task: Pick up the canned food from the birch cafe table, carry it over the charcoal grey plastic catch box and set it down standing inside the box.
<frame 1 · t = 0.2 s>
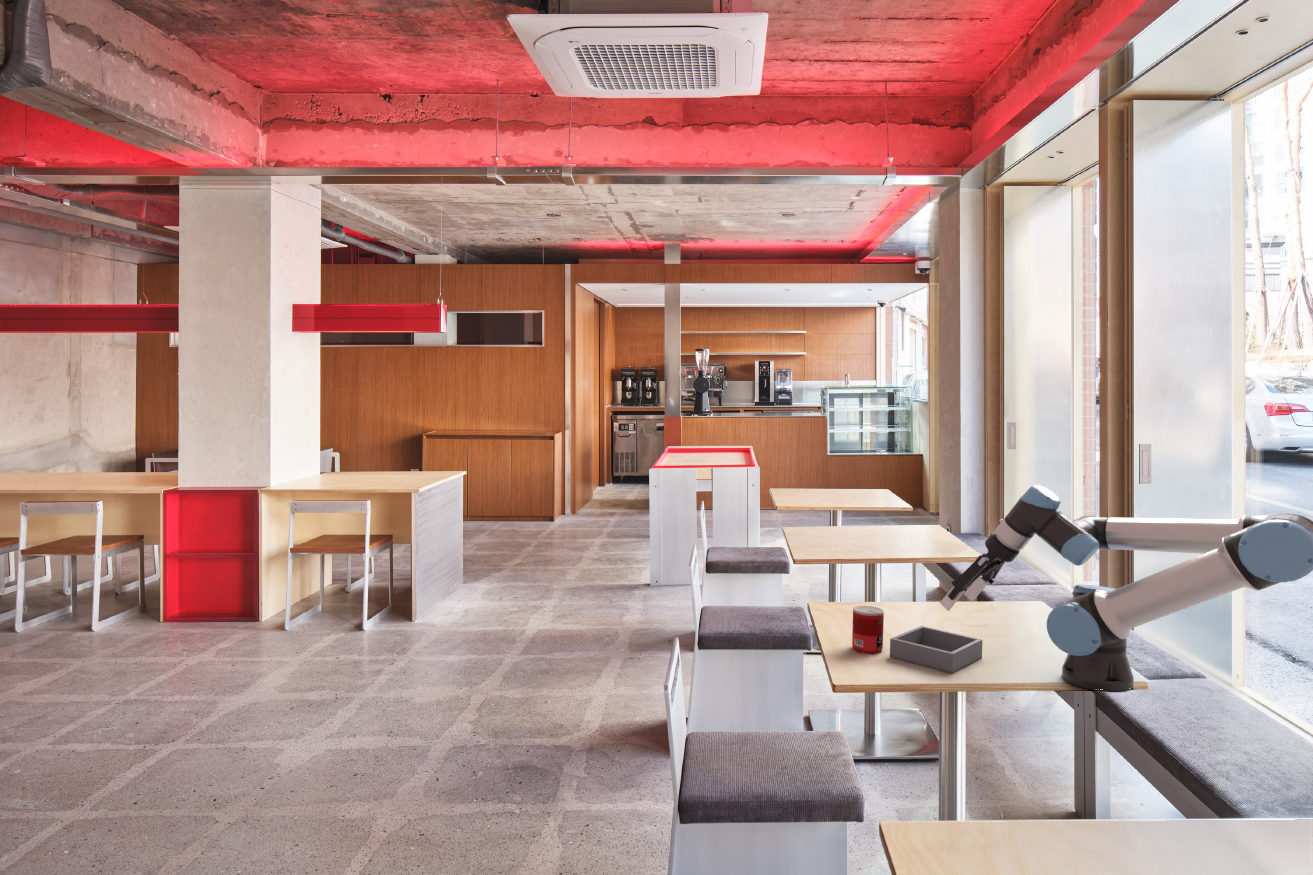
hand: (956, 602, 204), 16 cm above the table, tool tilted 35°, fingers open, 13 cm apart
canned food: (867, 650, 217), on the table
catch box: (935, 657, 210), on the table
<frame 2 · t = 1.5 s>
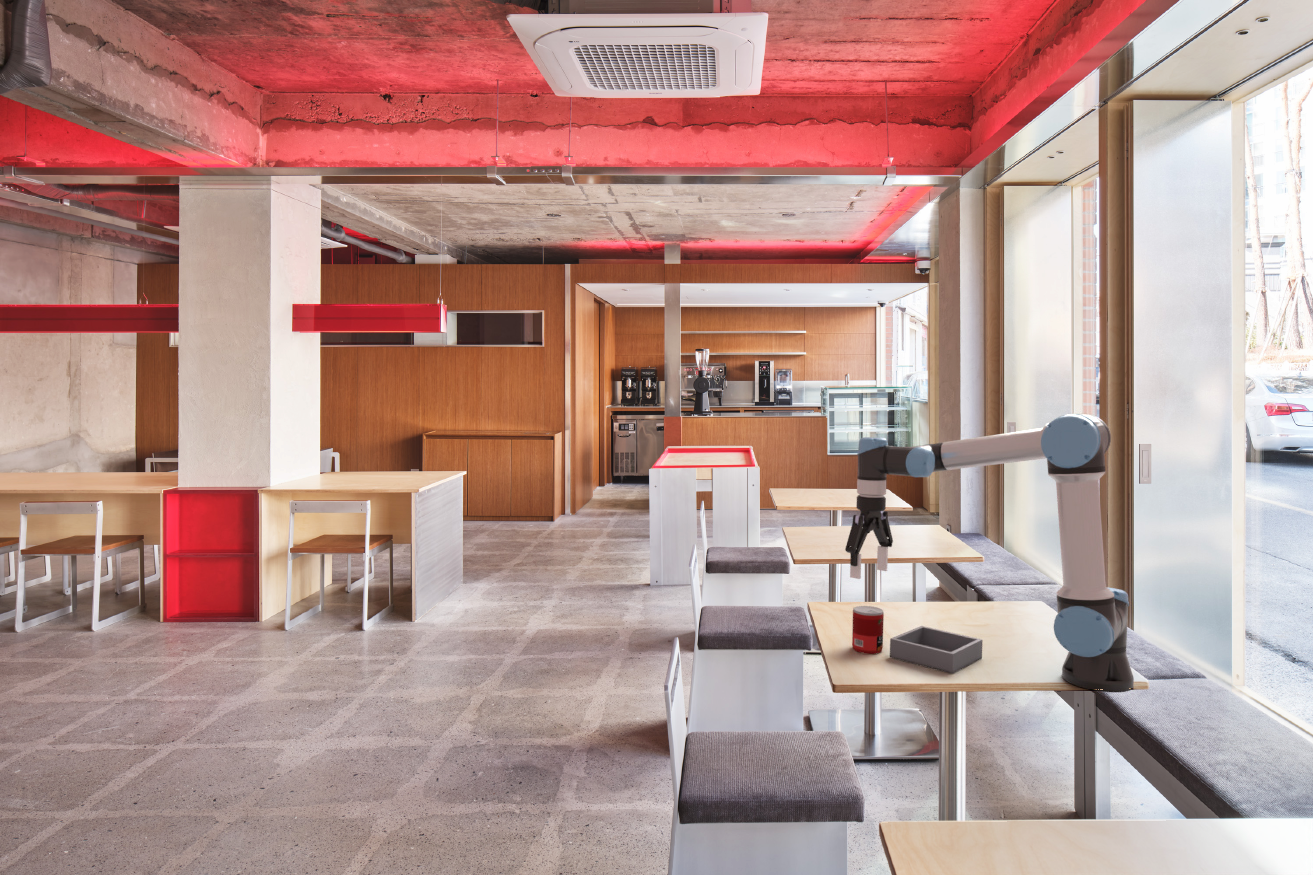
hand: (868, 574, 216), 21 cm above the table, tool pointing down, fingers open, 13 cm apart
nothing on the table moved.
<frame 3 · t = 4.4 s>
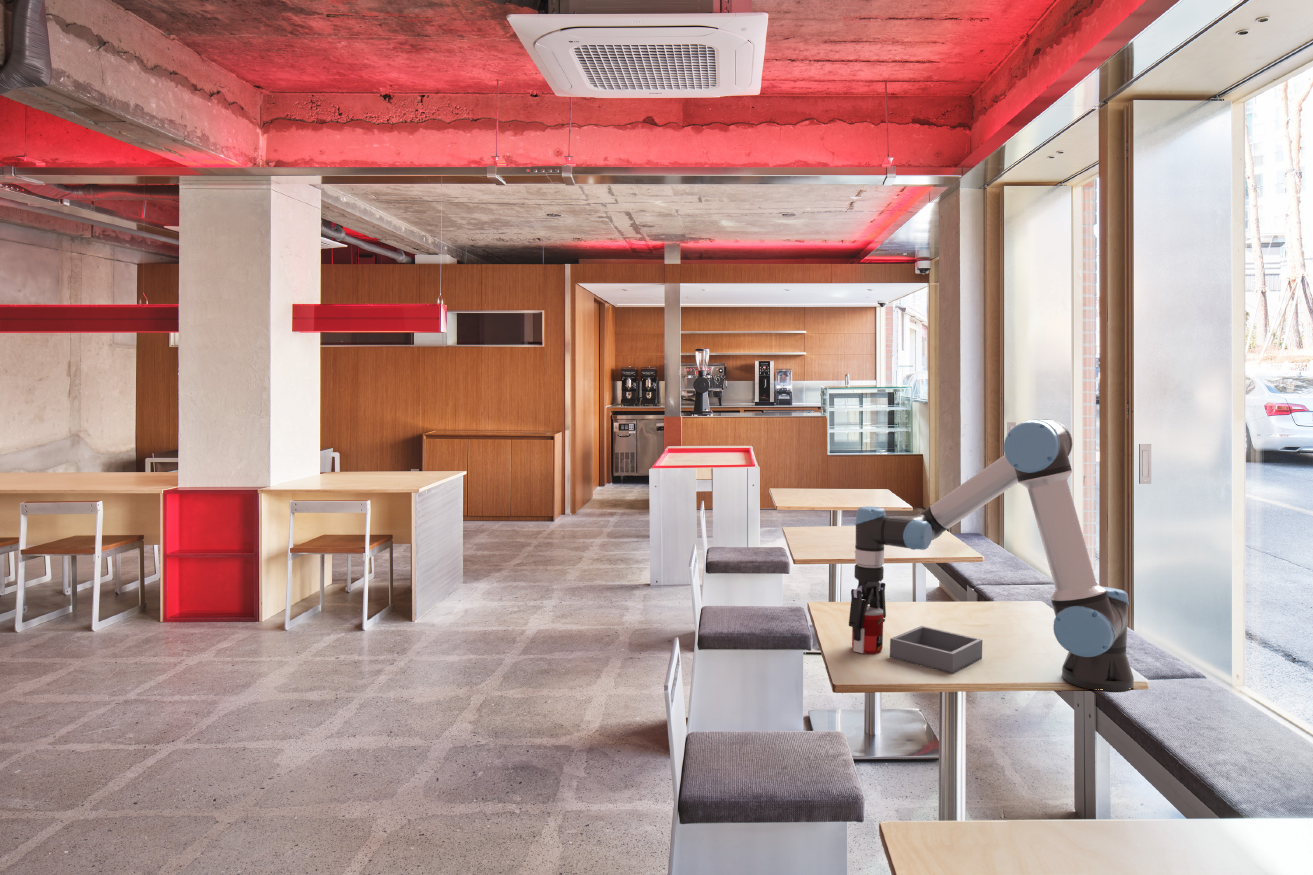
hand: (866, 648, 217), 0 cm above the table, tool pointing down, fingers closed on canned food, 8 cm apart
canned food: (867, 650, 217), on the table, touching gripper
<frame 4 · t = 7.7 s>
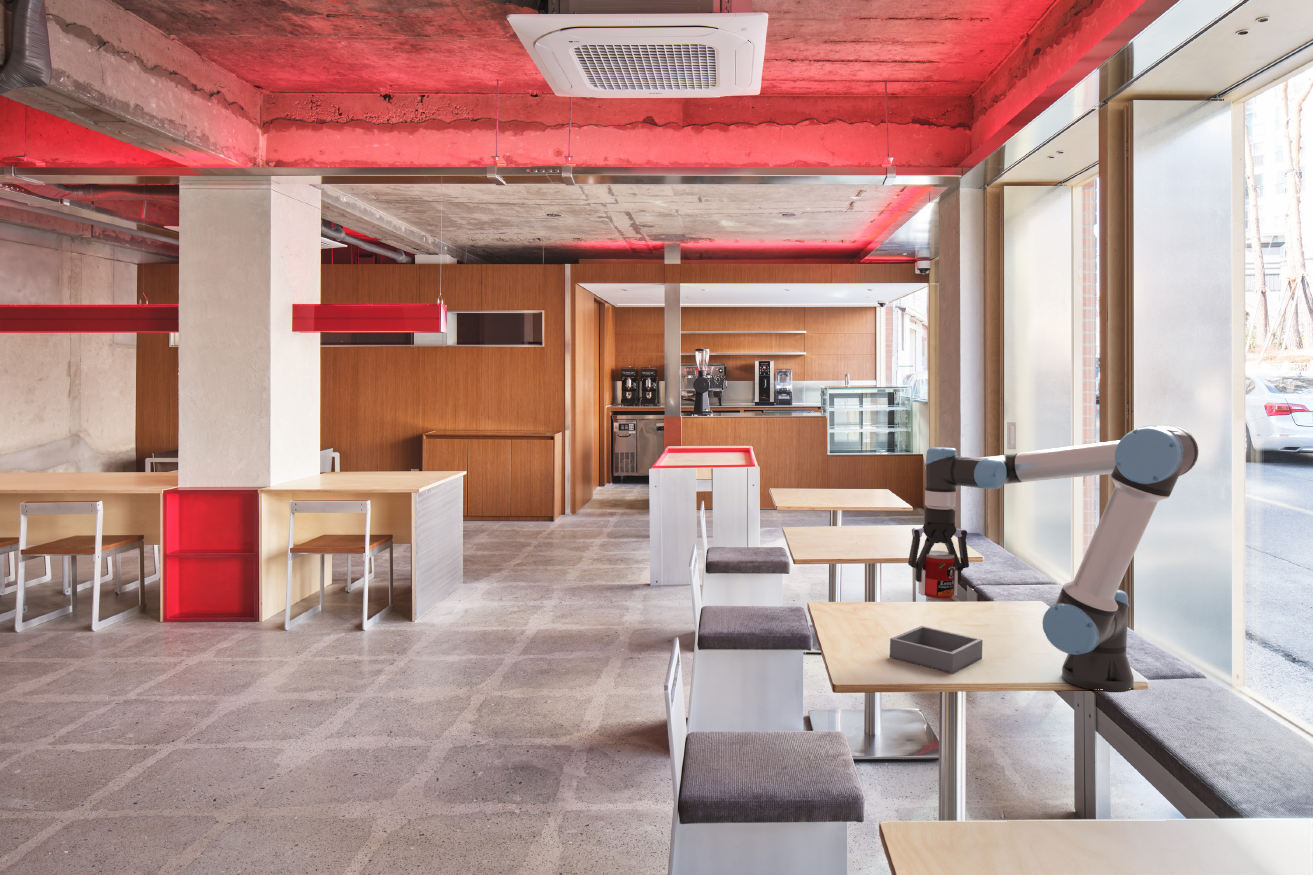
hand: (937, 594, 209), 17 cm above the table, tool pointing down, fingers closed on canned food, 8 cm apart
canned food: (937, 595, 209), point 16 cm above the table, touching gripper
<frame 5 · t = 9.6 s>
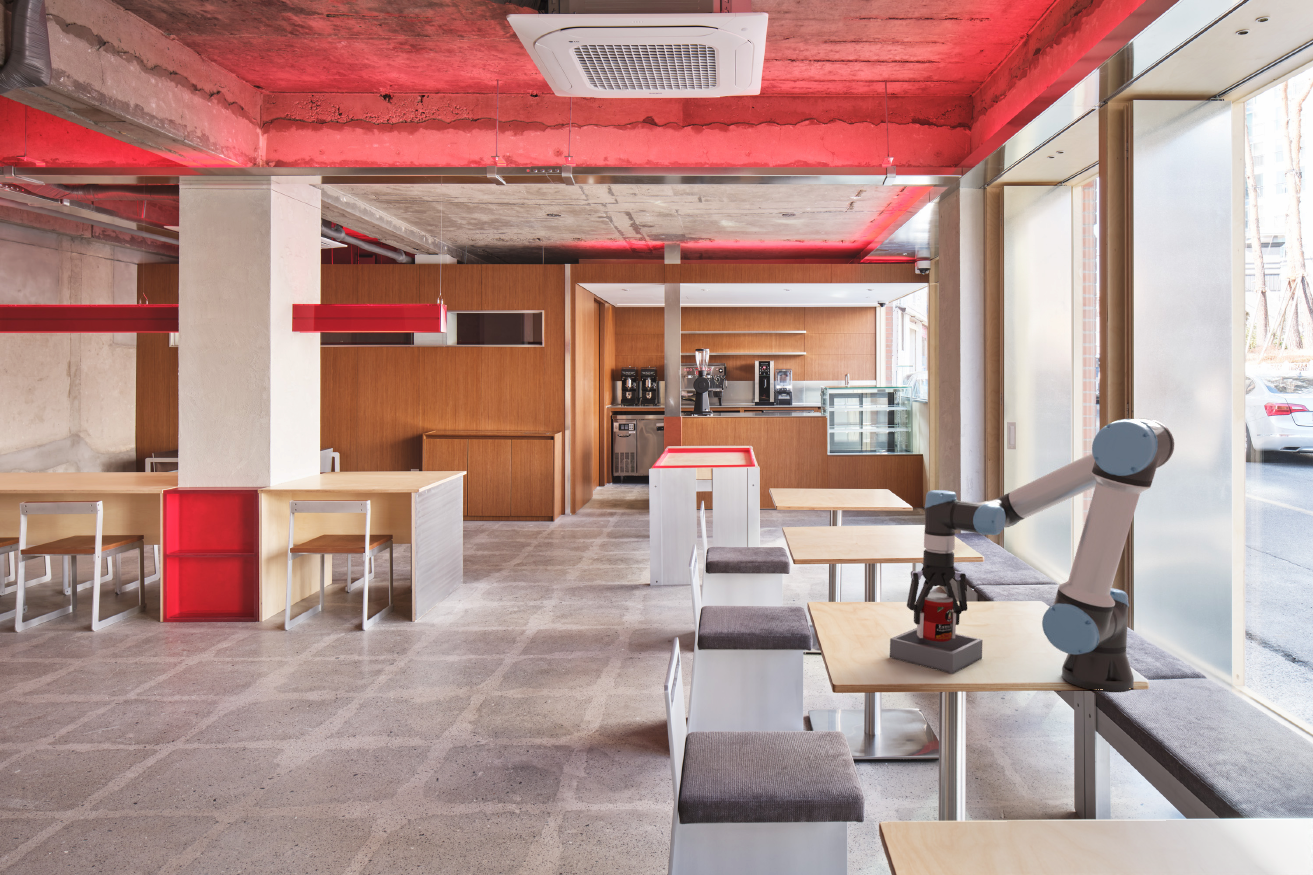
hand: (935, 636, 210), 6 cm above the table, tool pointing down, fingers closed on canned food, 8 cm apart
canned food: (935, 638, 210), point 5 cm above the table, touching gripper
when the fingers open (2 cm above the table, at t = 11.3 s): canned food stays where it is, resting on catch box.
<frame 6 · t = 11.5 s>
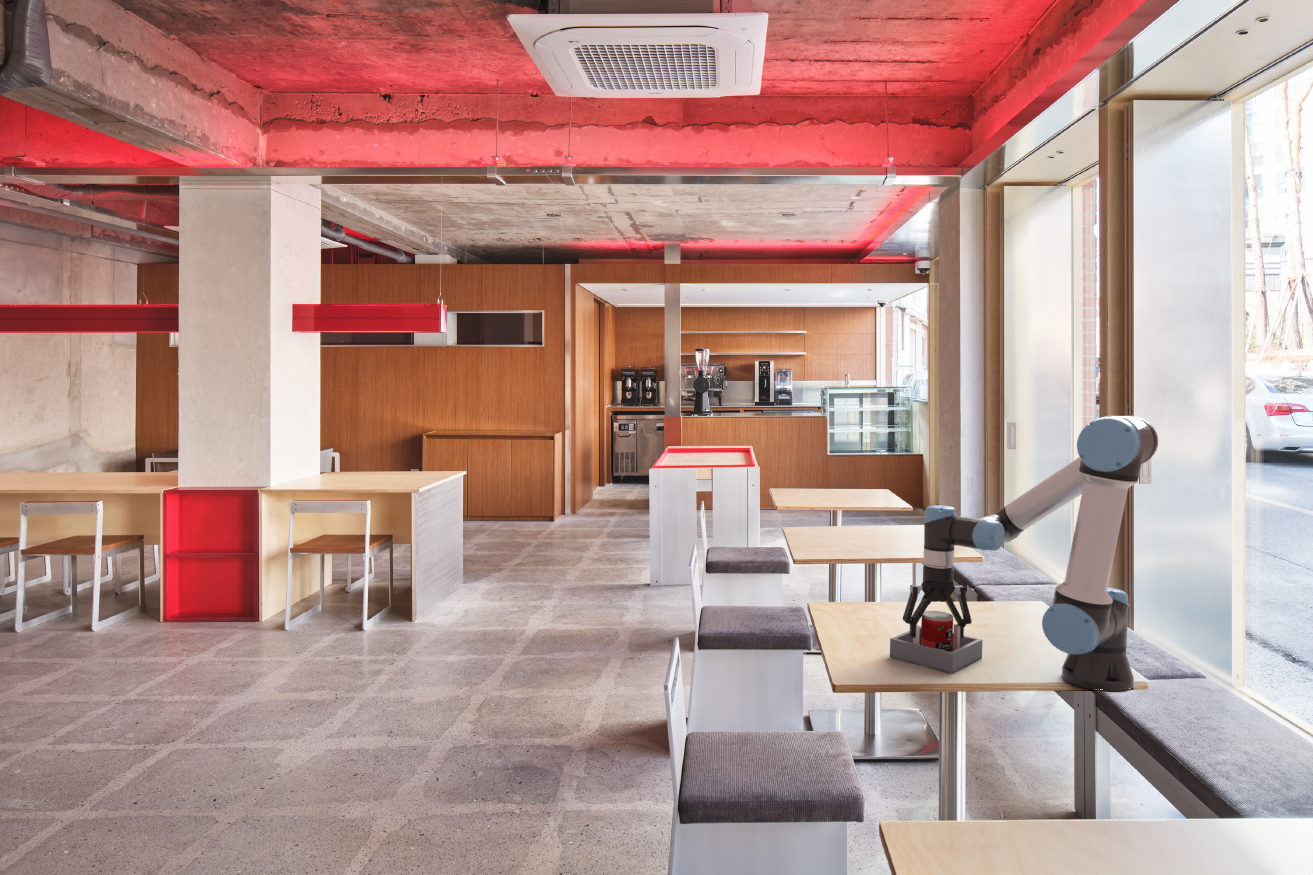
hand: (936, 649, 210), 2 cm above the table, tool pointing down, fingers open, 10 cm apart
canned food: (936, 656, 210), resting on catch box
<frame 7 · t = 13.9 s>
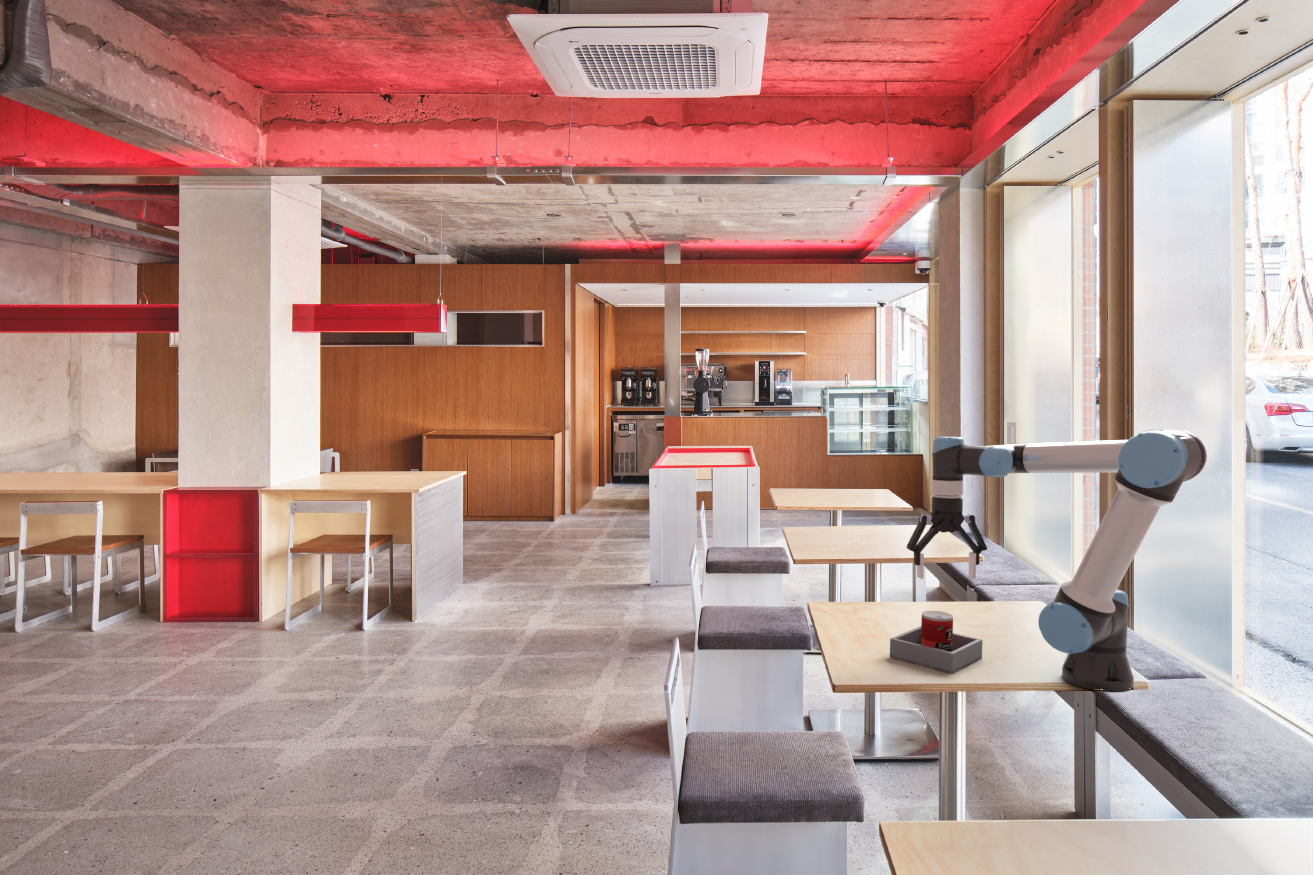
hand: (946, 577, 209), 21 cm above the table, tool pointing down, fingers open, 13 cm apart
nothing on the table moved.
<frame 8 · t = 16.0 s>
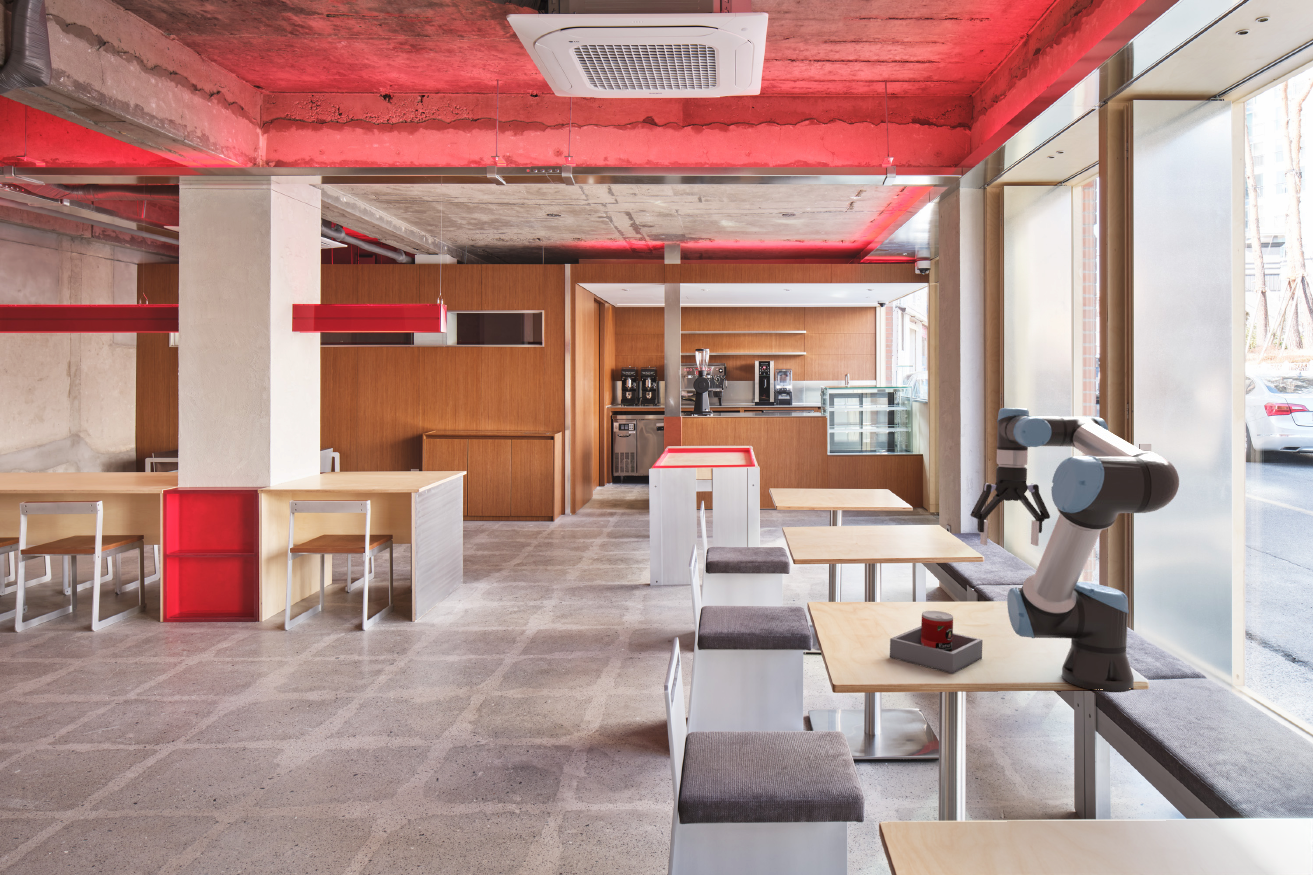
hand: (1009, 544, 216), 29 cm above the table, tool pointing down, fingers open, 13 cm apart
nothing on the table moved.
at the end: canned food inside the target area on the catch box (0.1 cm from its centre), point 0.3 cm above the catch box's base; canned food tilted 0°; the gripper is holding nothing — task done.
